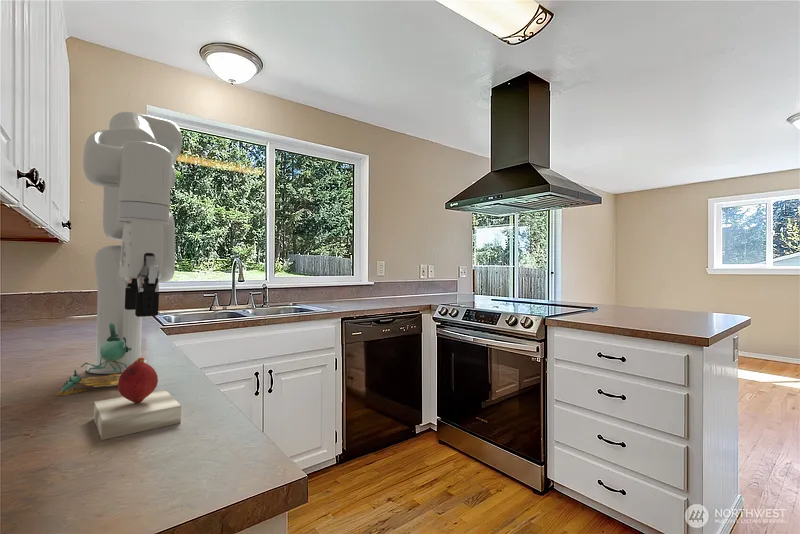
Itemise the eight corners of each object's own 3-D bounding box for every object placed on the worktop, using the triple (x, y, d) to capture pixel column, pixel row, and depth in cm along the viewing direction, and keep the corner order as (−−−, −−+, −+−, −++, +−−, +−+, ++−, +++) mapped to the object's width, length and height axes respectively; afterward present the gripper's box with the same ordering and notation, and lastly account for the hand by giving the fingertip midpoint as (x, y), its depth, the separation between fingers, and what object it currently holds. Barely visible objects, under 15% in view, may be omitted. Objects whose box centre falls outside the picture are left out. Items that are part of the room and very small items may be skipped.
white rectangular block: (93, 418, 69) (94, 401, 69) (164, 405, 77) (165, 389, 77) (102, 440, 61) (102, 420, 61) (180, 422, 69) (181, 405, 69)
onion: (137, 410, 66) (138, 362, 66) (108, 407, 67) (110, 359, 67) (164, 399, 71) (166, 355, 71) (137, 396, 73) (139, 352, 73)
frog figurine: (49, 388, 84) (61, 319, 86) (145, 382, 98) (154, 322, 99) (55, 399, 78) (69, 324, 79) (157, 391, 91) (167, 326, 92)
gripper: (110, 215, 73) (107, 308, 73) (127, 209, 60) (123, 320, 60) (157, 220, 78) (154, 306, 78) (182, 214, 65) (178, 317, 66)
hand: (140, 312), depth 69 cm, fingers open, 9 cm apart
